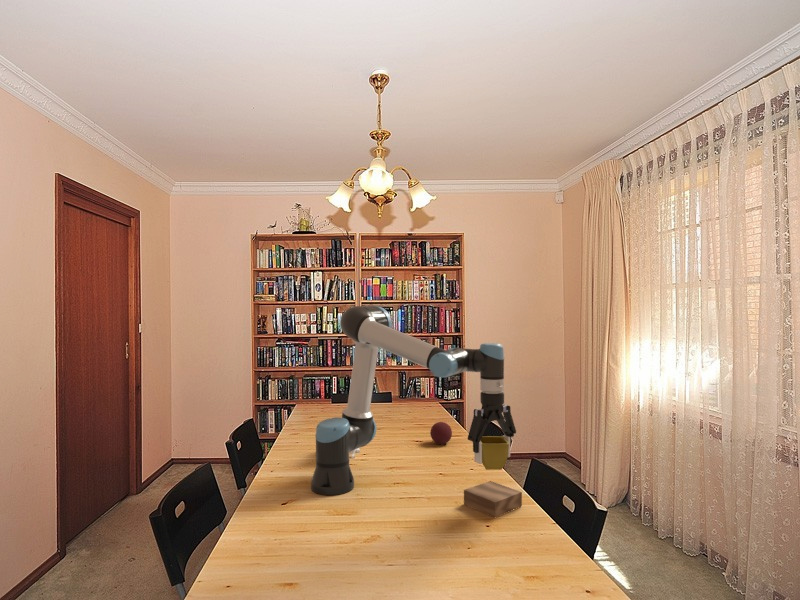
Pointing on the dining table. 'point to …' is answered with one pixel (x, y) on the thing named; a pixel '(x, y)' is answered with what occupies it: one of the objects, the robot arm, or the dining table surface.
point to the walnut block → (492, 498)
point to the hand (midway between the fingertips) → (492, 459)
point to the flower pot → (494, 452)
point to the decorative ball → (441, 432)
